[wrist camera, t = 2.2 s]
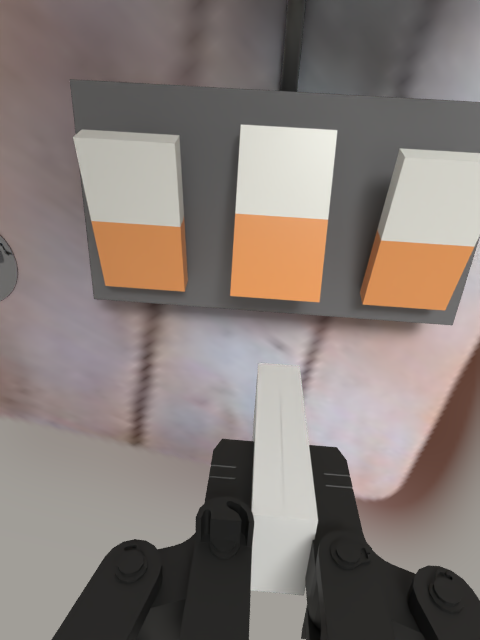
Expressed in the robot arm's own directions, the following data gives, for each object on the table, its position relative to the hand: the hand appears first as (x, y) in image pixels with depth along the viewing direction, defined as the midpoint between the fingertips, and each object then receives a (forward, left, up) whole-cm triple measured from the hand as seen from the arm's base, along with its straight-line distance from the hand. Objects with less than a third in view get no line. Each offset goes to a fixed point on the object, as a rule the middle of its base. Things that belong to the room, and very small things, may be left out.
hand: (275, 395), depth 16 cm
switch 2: (-4, +8, -12) cm, 15 cm away
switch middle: (-4, 0, -12) cm, 12 cm away
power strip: (-8, 0, -17) cm, 19 cm away
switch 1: (-4, -8, -12) cm, 15 cm away
